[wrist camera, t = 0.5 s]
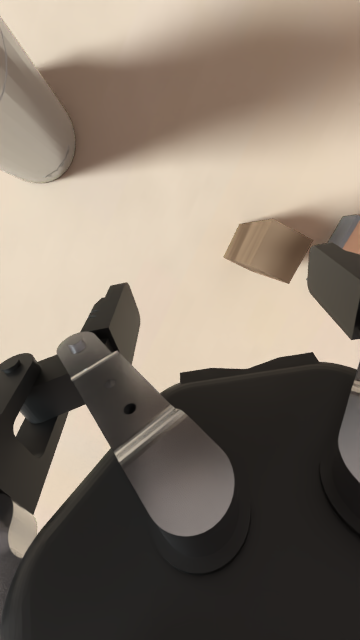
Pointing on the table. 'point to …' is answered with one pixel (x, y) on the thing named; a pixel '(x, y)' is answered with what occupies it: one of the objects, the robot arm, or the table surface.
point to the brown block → (268, 249)
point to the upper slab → (353, 241)
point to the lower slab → (344, 230)
